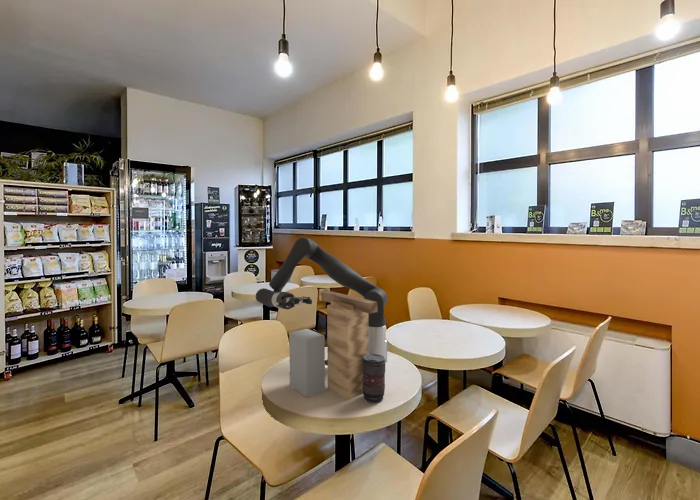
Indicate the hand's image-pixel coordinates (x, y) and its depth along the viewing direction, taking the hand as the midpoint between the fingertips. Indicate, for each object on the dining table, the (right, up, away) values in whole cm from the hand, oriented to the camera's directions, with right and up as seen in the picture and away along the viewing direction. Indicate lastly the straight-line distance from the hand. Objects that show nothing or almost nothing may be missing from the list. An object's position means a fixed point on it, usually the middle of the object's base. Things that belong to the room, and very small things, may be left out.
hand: (302, 303), depth 143 cm
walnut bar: (+18, +2, -15) cm, 24 cm away
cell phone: (+12, -29, +14) cm, 35 cm away
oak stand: (+19, -30, -14) cm, 39 cm away
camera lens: (+28, -31, -21) cm, 47 cm away
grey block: (+4, -30, -13) cm, 33 cm away
